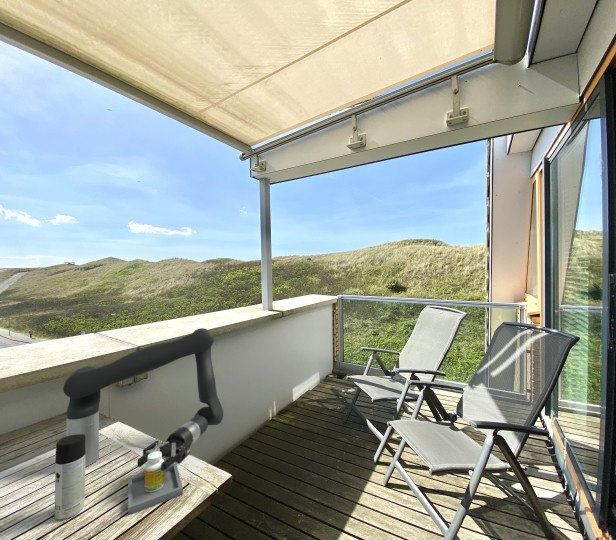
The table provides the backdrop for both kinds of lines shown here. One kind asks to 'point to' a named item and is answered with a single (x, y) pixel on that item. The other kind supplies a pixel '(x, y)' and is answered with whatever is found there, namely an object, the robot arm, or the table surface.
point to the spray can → (69, 476)
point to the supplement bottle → (154, 472)
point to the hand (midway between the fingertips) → (150, 465)
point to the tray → (143, 499)
